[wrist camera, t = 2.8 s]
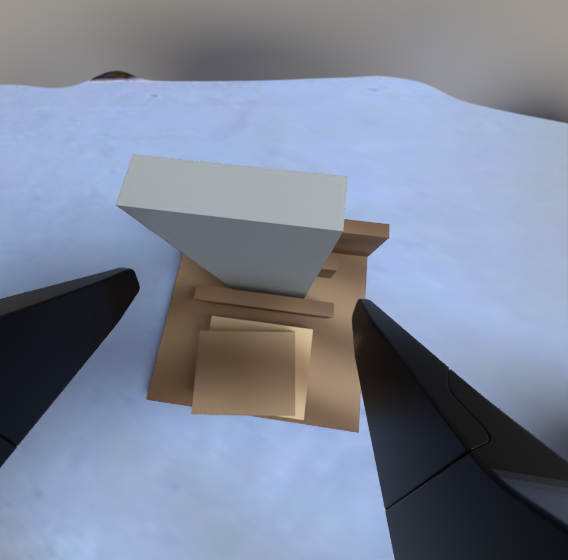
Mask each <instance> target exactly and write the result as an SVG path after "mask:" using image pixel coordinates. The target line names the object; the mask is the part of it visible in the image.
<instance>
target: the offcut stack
mask: <svg viewBox="0 0 568 560" xmlns="http://www.w3.org/2000/svg"><path fill="white" fill-rule="evenodd" d="M312 334H313V329H306V328H299V327H291V326H284V325H277V324H270V323H262V322H255V321H248V320H240V319H233V318H226V317H218V316H212V318H211V323H210V328H209V331H199V342H198V352H197V362H196V373H195V383H194V393H193V404H192V414H209V415H265V416H280V417H286V418H293V419H299V420H304V413H305V403H306V394H307V384H308V374H309V364H310V354H311V344H312Z"/></svg>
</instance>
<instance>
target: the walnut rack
mask: <svg viewBox="0 0 568 560" xmlns="http://www.w3.org/2000/svg"><path fill="white" fill-rule="evenodd" d="M388 238H389V224H382V223H373V222H364V221H355V220H347V219H344V228H343V233H342V234H341V236H340V238H339V239H338V241H337V243H336V245H335V246H334V248H333V250H332V251H331V253H330V255H329V257H328V258H327V260H326V262H325V264H324V265H323V267H322V269H321V270H320V272H319V274H318V276H317V277H316V279H315V281H314V282H313V284H312V286H311V288H310V289H309V291H308V293H307V295H306V296H305V298H296V297H288V296H281V295H273V294H265V293H258V292H250V291H242V290H235V289H232V288H231V287H229V286H228V285H227V284H225V283H224V282H222V281H221V280H220V279H218V278H217V277H215V276H214V275H213V274H211V273H210V272H208V271H207V270H206V269H204V268H203V267H201V266H200V265H199V264H197V263H196V262H194V261H193V260H192V259H190V258H189V257H187V256H186V255H185V254H183V255H182V259H181V263H180V267H179V271H178V275H177V279H176V283H175V287H174V291H173V295H172V299H171V303H170V307H169V311H168V315H167V319H166V323H165V327H164V331H163V335H162V339H161V343H160V347H159V351H158V355H157V359H156V362H155V366H154V370H153V374H152V378H151V382H150V386H149V390H148V394H147V398H146V399H147V400H153V401H159V402H166V403H172V404H179V405H185V406H191V407H192V404H193V393H194V383H195V373H196V362H197V352H198V342H199V331H209V328H210V323H211V318H212V316H218V317H226V318H233V319H240V320H248V321H255V322H262V323H270V324H277V325H284V326H291V327H299V328H306V329H313V334H312V344H311V354H310V364H309V374H308V384H307V394H306V403H305V413H304V420H299V419H293V418H286V417H280V416H265V415H249V416H255V417H262V418H268V419H275V420H281V421H287V422H294V423H300V424H307V425H313V426H319V427H326V428H332V429H339V430H345V431H351V432H358V433H359V415H360V394H361V386H360V381H359V376H358V371H357V366H356V361H355V355H354V343H353V330H352V314H353V311H354V308H355V305H356V303H357V300H358V299H365V293H366V272H367V257H368V256H369V255H370V254H371V253H372V252H374V251H375V250H376V249H377V248H378V247H379V246H380V245H381V244H383V243H384V242H385V241H386V240H387V239H388Z"/></svg>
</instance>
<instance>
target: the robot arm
mask: <svg viewBox="0 0 568 560" xmlns="http://www.w3.org/2000/svg"><path fill="white" fill-rule="evenodd" d="M139 289H140V286H139V282H138V280H137V277H136V274H135V272H134V270H132V269H129V268H117V269H114V270H110V271H106V272H102V273H98V274H94V275H91V276H87V277H83V278H79V279H75V280H71V281H68V282H64V283H60V284H56V285H52V286H48V287H45V288H41V289H37V290H33V291H29V292H25V293H22V294H18V295H14V296H10V297H6V298H2V299H0V468H1V466H2V465H3V464H4V463H5V461H6V460H7V459H8V458H9V456H10V455H11V454H12V453H13V452H14V450H15V449H16V448H17V446H18V445H19V444H20V443H21V441H22V440H23V439H24V438H25V436H26V435H27V434H28V433H29V431H30V430H31V429H32V428H33V427H34V425H35V424H36V423H37V422H38V420H39V419H40V418H41V417H42V415H43V414H44V413H45V412H46V411H47V409H48V408H49V407H50V406H51V404H52V403H53V402H54V401H55V400H56V398H57V397H58V396H59V395H60V393H61V392H62V391H63V390H64V388H65V387H66V386H67V385H68V384H69V382H70V381H71V380H72V379H73V377H74V376H75V375H76V374H77V372H78V371H79V370H80V369H81V368H82V366H83V365H84V364H85V363H86V361H87V360H88V359H89V358H90V357H91V355H92V354H93V353H94V352H95V350H96V349H97V348H98V347H99V345H100V344H101V343H102V342H103V341H104V339H105V338H106V337H107V336H108V334H109V333H110V332H111V331H112V329H113V328H114V327H115V326H116V324H117V323H118V322H119V320H120V319H121V318H122V316H123V315H124V313H125V312H126V310H127V309H128V307H129V306H130V304H131V302H132V301H133V299H134V298H135V296H136V295H137V293H138V292H139ZM352 330H353V343H354V355H355V361H356V366H357V371H358V376H359V381H360V386H361V391H362V396H363V401H364V406H365V411H366V416H367V421H368V426H369V431H370V436H371V441H372V446H373V451H374V456H375V461H376V466H377V471H378V476H379V481H380V486H381V491H382V496H383V501H384V506H385V509H386V511H385V512H386V517H387V522H388V527H389V532H390V537H391V542H392V547H393V553H394V558H395V560H568V462H567V461H566V460H565V459H563V458H562V457H561V456H559V455H558V454H557V453H556V452H554V451H553V450H552V449H550V448H549V447H548V446H546V445H545V444H544V443H543V442H541V441H540V440H539V439H537V438H536V437H535V436H533V435H532V434H531V433H530V432H528V431H527V430H526V429H524V428H523V427H522V426H520V425H519V424H518V423H517V422H515V421H514V420H513V419H511V418H510V417H509V416H507V415H506V414H505V413H504V412H502V411H501V410H500V409H499V408H497V407H496V406H495V405H493V404H492V403H491V402H490V401H488V400H487V399H486V398H485V397H483V396H482V395H481V394H480V393H478V392H477V391H476V390H475V389H474V388H472V387H471V386H470V385H469V384H468V383H466V382H465V381H464V380H463V379H462V378H461V377H459V376H458V375H457V374H456V373H455V372H454V371H452V370H449V367H448V366H446V365H445V364H444V363H443V362H442V361H441V360H439V359H438V358H437V357H436V356H435V355H434V354H432V353H431V352H430V351H429V350H428V349H427V348H425V347H424V346H423V345H422V344H421V343H420V342H418V341H417V340H416V339H415V338H414V337H413V336H411V335H410V334H409V333H408V332H407V331H406V330H404V329H403V328H402V327H401V326H400V325H399V324H397V323H396V322H395V321H394V320H393V319H392V318H390V317H389V316H388V315H387V314H386V313H385V312H383V311H382V310H381V309H380V308H379V307H378V306H376V305H375V304H374V303H373V302H372V301H370V300H368V299H358V300H357V303H356V305H355V308H354V311H353V314H352Z"/></svg>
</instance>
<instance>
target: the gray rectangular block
mask: <svg viewBox="0 0 568 560" xmlns="http://www.w3.org/2000/svg"><path fill="white" fill-rule="evenodd" d="M346 189H347V177H346V176H336V175H327V174H317V173H308V172H298V171H288V170H279V169H269V168H260V167H250V166H241V165H231V164H221V163H212V162H202V161H193V160H183V159H173V158H164V157H154V156H145V155H135V154H133V156H132V158H131V161H130V164H129V167H128V170H127V173H126V176H125V179H124V182H123V185H122V187H121V190H120V193H119V196H118V199H117V202H116V206H118V207H119V208H120V209H122V210H123V211H125V212H126V213H127V214H129V215H130V216H132V217H133V218H134V219H136V220H137V221H139V222H140V223H141V224H143V225H144V226H146V227H147V228H148V229H150V230H151V231H153V232H154V233H155V234H157V235H158V236H160V237H161V238H162V239H164V240H165V241H166V242H168V243H169V244H171V245H172V246H173V247H175V248H176V249H178V250H179V251H180V252H182V253H183V254H185V255H186V256H187V257H189V258H190V259H192V260H193V261H194V262H196V263H197V264H199V265H200V266H201V267H203V268H204V269H206V270H207V271H208V272H210V273H211V274H213V275H214V276H215V277H217V278H218V279H220V280H221V281H222V282H224V283H225V284H227V285H228V286H229V287H231V288H232V289H235V290H242V291H250V292H258V293H265V294H273V295H281V296H288V297H296V298H305V296H306V295H307V293H308V291H309V289H310V288H311V286H312V284H313V282H314V281H315V279H316V277H317V276H318V274H319V272H320V270H321V269H322V267H323V265H324V264H325V262H326V260H327V258H328V257H329V255H330V253H331V251H332V250H333V248H334V246H335V245H336V243H337V241H338V239H339V238H340V236H341V234H342V233H343V228H344V215H345V202H346Z"/></svg>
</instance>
